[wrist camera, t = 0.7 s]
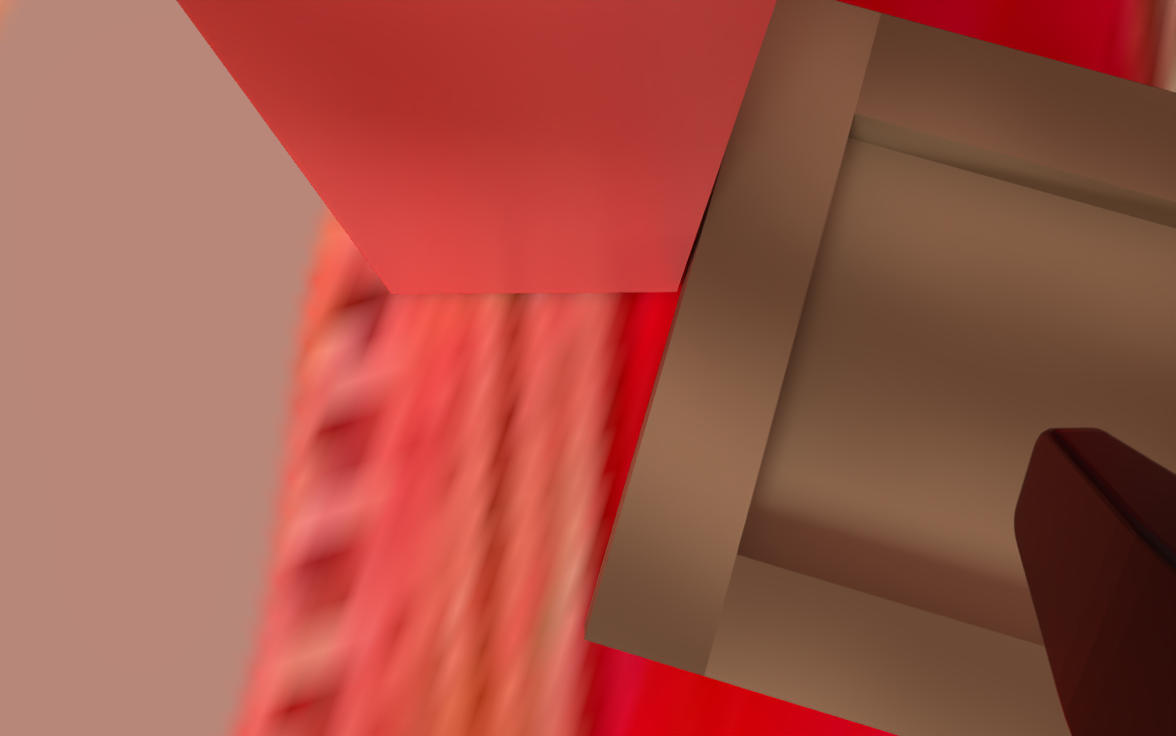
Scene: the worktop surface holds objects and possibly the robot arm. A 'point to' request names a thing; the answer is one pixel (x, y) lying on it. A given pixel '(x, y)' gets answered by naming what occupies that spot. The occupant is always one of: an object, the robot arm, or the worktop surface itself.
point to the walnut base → (894, 370)
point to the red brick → (501, 129)
